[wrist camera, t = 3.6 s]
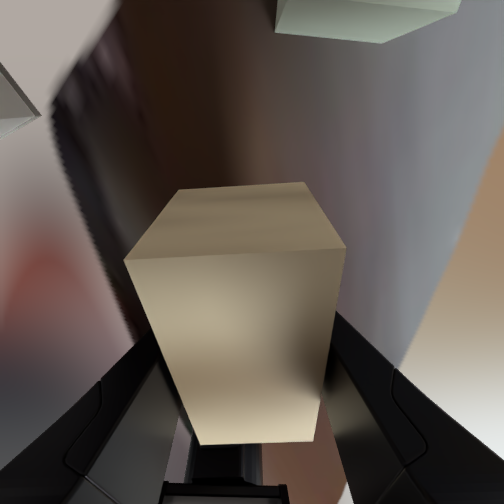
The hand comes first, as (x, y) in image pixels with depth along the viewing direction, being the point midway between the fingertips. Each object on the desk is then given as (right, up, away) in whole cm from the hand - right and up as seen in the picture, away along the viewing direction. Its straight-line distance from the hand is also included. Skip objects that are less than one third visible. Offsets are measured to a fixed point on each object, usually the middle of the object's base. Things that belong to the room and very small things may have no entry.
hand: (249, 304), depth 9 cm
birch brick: (0, +1, +1) cm, 1 cm away
